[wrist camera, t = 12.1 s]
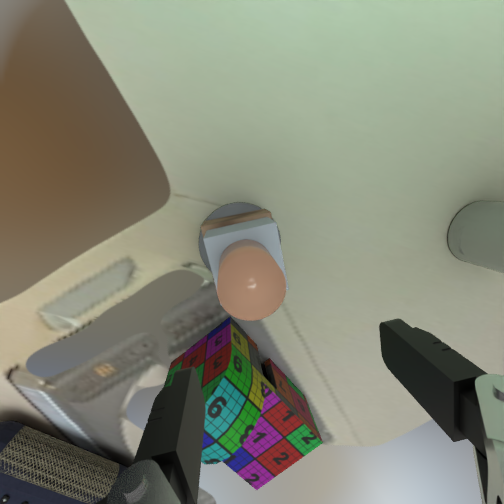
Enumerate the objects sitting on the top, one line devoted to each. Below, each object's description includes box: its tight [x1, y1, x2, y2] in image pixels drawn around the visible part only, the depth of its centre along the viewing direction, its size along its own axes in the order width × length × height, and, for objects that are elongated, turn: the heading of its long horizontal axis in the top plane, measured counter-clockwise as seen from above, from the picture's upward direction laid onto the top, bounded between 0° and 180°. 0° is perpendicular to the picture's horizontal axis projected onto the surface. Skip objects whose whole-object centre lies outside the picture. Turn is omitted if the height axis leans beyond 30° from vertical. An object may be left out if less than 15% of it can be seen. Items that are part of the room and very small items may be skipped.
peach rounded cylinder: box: [217, 239, 286, 321], centre depth 22 cm, size 5×5×6 cm
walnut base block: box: [201, 209, 272, 291], centre depth 32 cm, size 8×8×5 cm
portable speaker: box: [0, 421, 127, 504], centre depth 36 cm, size 25×10×10 cm, turn 53°
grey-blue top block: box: [203, 217, 289, 306], centre depth 28 cm, size 7×7×5 cm
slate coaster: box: [199, 202, 281, 272], centre depth 35 cm, size 11×11×1 cm
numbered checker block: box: [164, 317, 323, 490], centre depth 35 cm, size 25×17×14 cm
